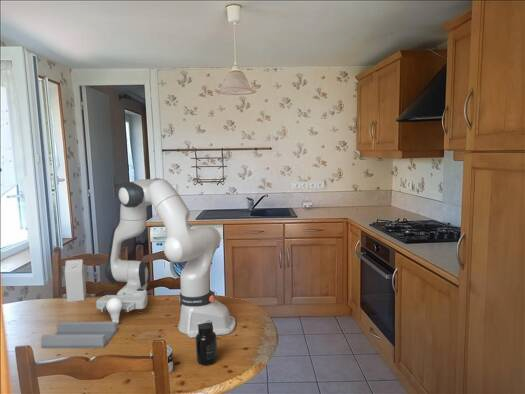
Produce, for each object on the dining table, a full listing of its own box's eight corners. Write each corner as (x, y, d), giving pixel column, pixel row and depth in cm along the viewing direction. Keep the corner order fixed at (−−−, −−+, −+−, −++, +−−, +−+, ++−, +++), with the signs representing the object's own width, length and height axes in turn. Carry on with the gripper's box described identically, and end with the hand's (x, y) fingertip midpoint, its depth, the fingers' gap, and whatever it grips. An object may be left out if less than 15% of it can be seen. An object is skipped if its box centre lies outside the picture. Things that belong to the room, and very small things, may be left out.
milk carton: (70, 297, 177) (67, 258, 175) (86, 295, 179) (83, 257, 177) (67, 302, 170) (63, 262, 168) (84, 300, 173) (81, 261, 170)
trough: (117, 331, 143) (116, 321, 142) (103, 347, 131) (102, 337, 130) (60, 331, 143) (59, 321, 143) (41, 348, 131) (40, 337, 131)
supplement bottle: (218, 354, 126) (217, 320, 124) (216, 365, 119) (215, 330, 118) (197, 354, 126) (196, 321, 124) (195, 366, 119) (193, 331, 117)
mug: (168, 377, 113) (167, 357, 112) (147, 376, 114) (146, 355, 113) (180, 359, 123) (179, 340, 122) (161, 358, 124) (160, 339, 123)
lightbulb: (118, 328, 145) (116, 301, 144) (104, 327, 146) (102, 300, 145) (126, 321, 151) (125, 295, 150) (113, 320, 152) (111, 294, 151)
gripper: (103, 290, 161) (88, 303, 147) (150, 289, 161) (139, 302, 147) (104, 303, 162) (89, 318, 148) (150, 303, 162) (140, 317, 148)
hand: (114, 310), depth 148 cm, fingers open, 8 cm apart
